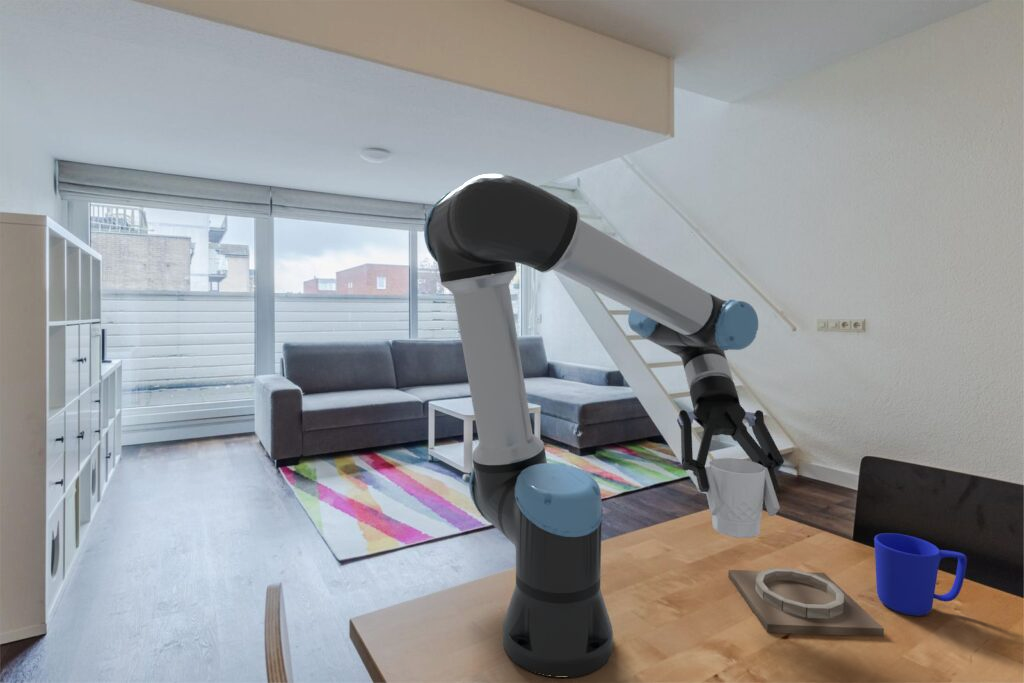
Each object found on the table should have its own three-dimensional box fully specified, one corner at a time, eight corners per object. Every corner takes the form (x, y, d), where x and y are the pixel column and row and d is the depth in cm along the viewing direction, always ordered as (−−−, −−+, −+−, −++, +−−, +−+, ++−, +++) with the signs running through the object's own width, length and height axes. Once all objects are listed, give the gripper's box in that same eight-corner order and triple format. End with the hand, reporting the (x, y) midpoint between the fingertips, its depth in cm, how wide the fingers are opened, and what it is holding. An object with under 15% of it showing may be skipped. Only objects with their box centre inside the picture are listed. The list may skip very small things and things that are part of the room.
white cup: (766, 525, 83) (768, 463, 82) (760, 545, 76) (762, 477, 76) (714, 515, 87) (715, 455, 86) (703, 532, 81) (704, 468, 80)
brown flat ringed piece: (767, 632, 76) (767, 614, 76) (728, 576, 92) (728, 561, 92) (883, 636, 75) (884, 618, 75) (823, 579, 91) (824, 564, 91)
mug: (980, 628, 77) (983, 561, 77) (886, 618, 80) (889, 553, 79) (946, 598, 85) (949, 537, 85) (862, 590, 88) (865, 530, 87)
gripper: (764, 398, 95) (807, 522, 80) (648, 398, 96) (669, 521, 81) (778, 373, 90) (827, 501, 75) (655, 373, 91) (678, 500, 76)
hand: (744, 511), depth 78 cm, fingers closed on white cup, 8 cm apart
